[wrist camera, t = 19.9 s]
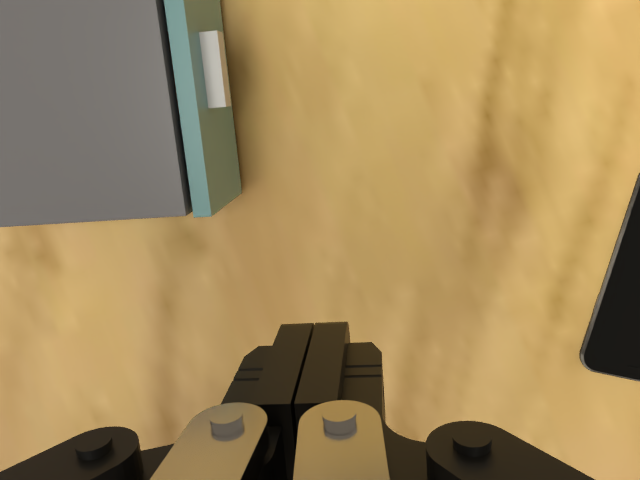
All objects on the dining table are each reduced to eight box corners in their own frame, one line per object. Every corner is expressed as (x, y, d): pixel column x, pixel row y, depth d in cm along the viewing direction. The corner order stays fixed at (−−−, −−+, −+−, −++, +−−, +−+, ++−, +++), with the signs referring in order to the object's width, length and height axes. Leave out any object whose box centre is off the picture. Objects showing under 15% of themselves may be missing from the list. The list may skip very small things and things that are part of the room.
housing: (227, 187, 40) (185, 215, 31) (36, 200, 42) (-53, 230, 33) (198, -49, 36) (142, -92, 28) (-9, -26, 38) (-124, -59, 29)
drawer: (256, 191, 39) (229, 215, 32) (51, 205, 40) (-19, 230, 33) (229, -62, 35) (191, -100, 28) (4, -36, 37) (-87, -66, 29)
